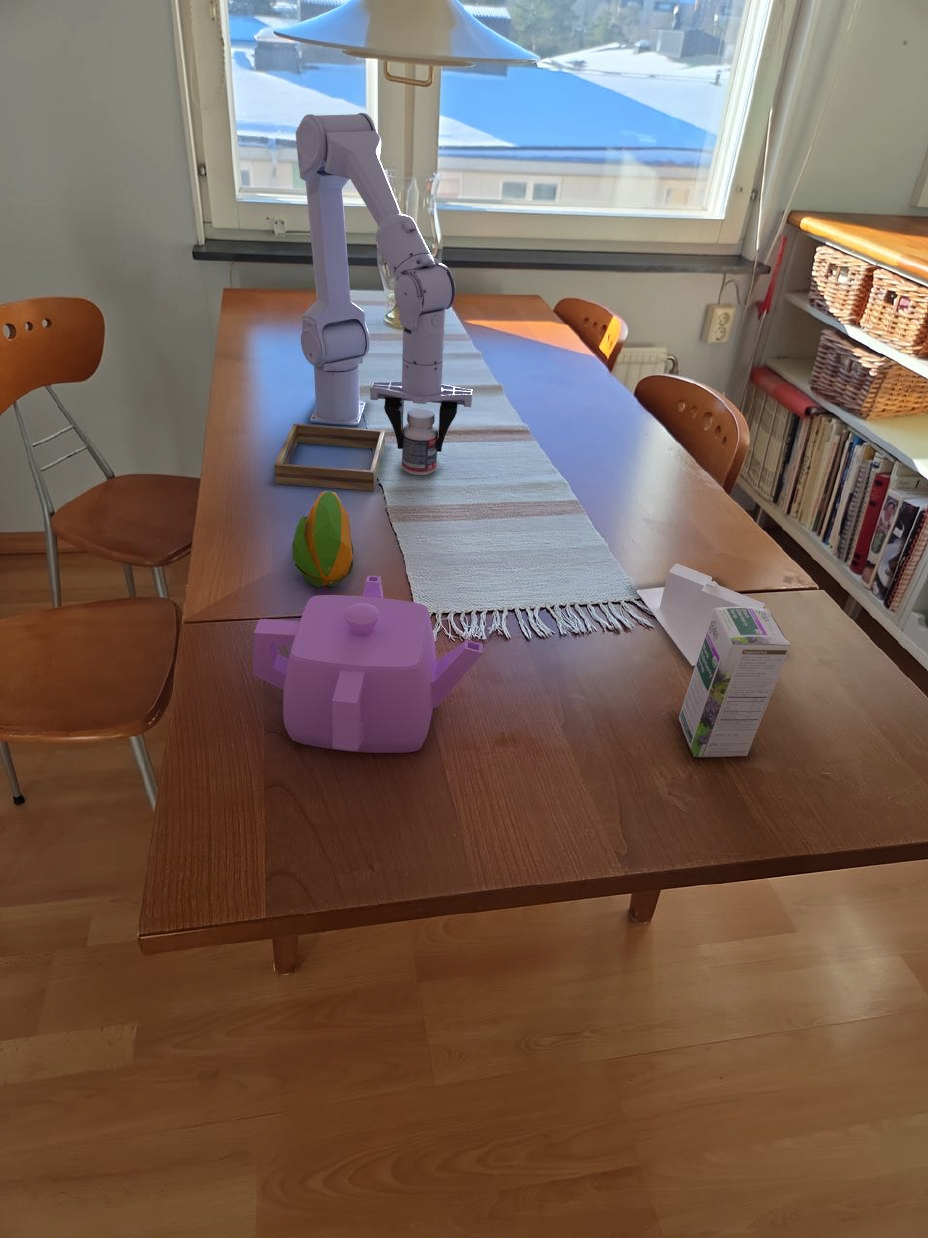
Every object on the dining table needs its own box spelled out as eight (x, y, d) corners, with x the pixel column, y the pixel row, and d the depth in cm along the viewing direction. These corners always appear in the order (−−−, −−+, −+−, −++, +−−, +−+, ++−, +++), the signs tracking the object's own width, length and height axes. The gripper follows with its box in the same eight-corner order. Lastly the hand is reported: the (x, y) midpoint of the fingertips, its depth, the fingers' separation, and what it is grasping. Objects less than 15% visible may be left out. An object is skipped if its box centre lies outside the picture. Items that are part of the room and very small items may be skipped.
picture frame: (294, 441, 133) (293, 423, 131) (384, 447, 133) (385, 430, 131) (275, 483, 121) (273, 465, 120) (373, 491, 121) (373, 472, 120)
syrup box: (676, 718, 87) (709, 605, 78) (731, 717, 88) (770, 605, 79) (692, 758, 83) (730, 643, 74) (750, 758, 83) (794, 643, 75)
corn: (289, 547, 94) (297, 464, 110) (289, 602, 99) (296, 515, 114) (356, 550, 95) (354, 468, 111) (353, 604, 100) (351, 518, 116)
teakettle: (245, 701, 85) (232, 602, 78) (377, 636, 95) (377, 542, 87) (346, 801, 76) (343, 700, 68) (482, 718, 85) (492, 621, 78)
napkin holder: (780, 653, 97) (794, 613, 94) (692, 666, 94) (704, 626, 91) (713, 580, 108) (725, 542, 105) (634, 590, 105) (642, 551, 102)
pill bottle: (431, 478, 126) (434, 422, 120) (397, 473, 126) (398, 417, 121) (439, 463, 130) (442, 408, 124) (407, 458, 130) (408, 403, 125)
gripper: (367, 364, 114) (367, 455, 123) (473, 372, 115) (467, 462, 123) (373, 346, 120) (373, 434, 128) (475, 354, 120) (468, 441, 128)
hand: (419, 447), depth 126 cm, fingers closed on pill bottle, 5 cm apart
